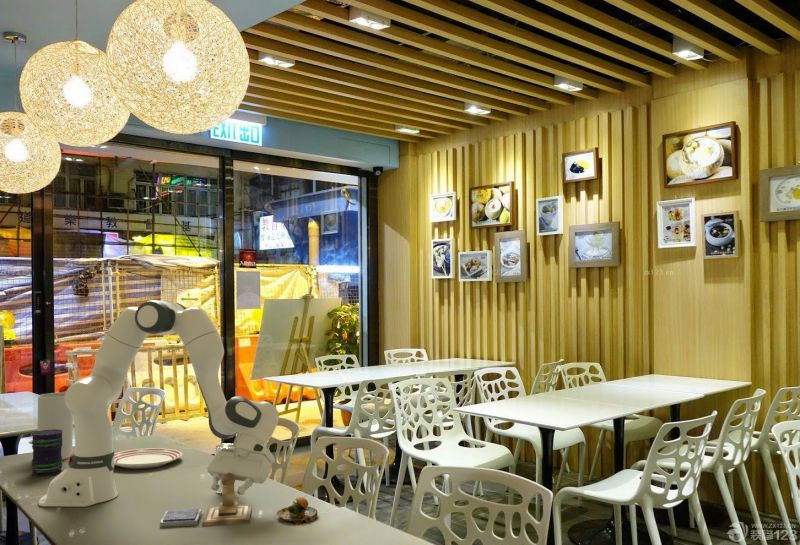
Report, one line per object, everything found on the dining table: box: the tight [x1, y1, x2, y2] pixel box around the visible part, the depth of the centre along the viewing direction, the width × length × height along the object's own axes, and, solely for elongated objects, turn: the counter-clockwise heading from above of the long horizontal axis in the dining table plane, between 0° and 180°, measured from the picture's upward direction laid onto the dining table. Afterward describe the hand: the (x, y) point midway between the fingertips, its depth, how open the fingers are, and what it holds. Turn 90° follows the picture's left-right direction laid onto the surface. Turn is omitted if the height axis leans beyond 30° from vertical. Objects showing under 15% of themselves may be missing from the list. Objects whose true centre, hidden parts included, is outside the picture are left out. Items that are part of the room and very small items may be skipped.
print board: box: [201, 504, 253, 527], centre depth 195 cm, size 13×13×1 cm
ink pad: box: [159, 508, 202, 528], centre depth 192 cm, size 10×10×2 cm
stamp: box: [218, 473, 239, 516], centre depth 195 cm, size 5×5×12 cm
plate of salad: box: [276, 491, 318, 525], centre depth 195 cm, size 12×12×8 cm
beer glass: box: [214, 443, 236, 495], centre depth 221 cm, size 7×7×15 cm
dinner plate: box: [114, 447, 183, 470], centre depth 258 cm, size 28×27×3 cm
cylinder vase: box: [36, 392, 74, 461], centre depth 266 cm, size 12×12×25 cm
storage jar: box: [31, 429, 63, 478], centre depth 243 cm, size 10×10×15 cm
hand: (226, 491), depth 195 cm, fingers open, 8 cm apart
